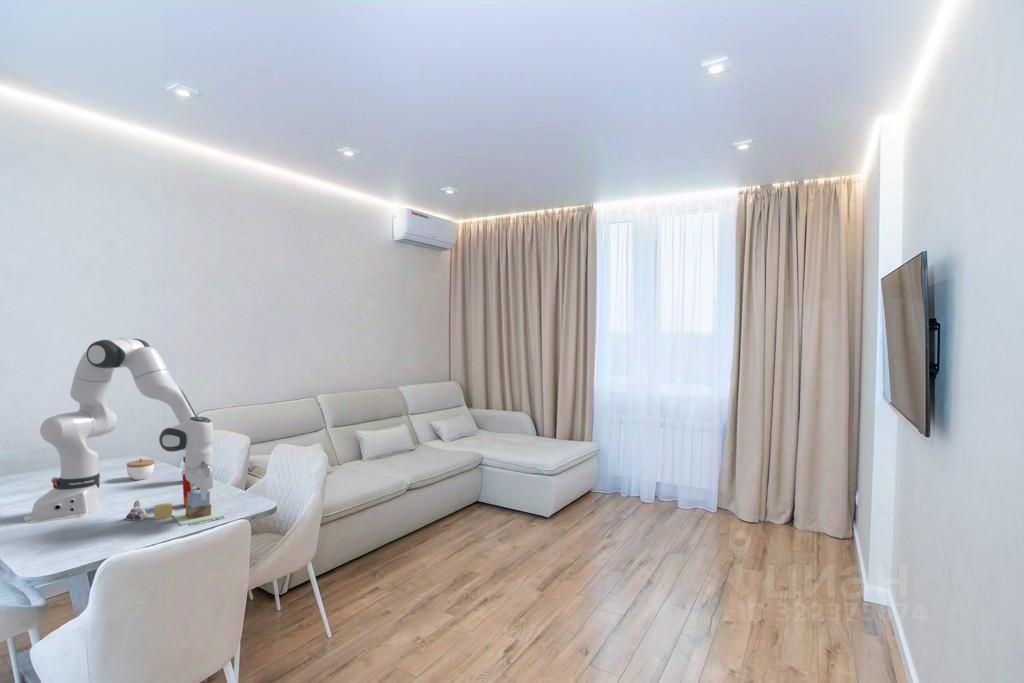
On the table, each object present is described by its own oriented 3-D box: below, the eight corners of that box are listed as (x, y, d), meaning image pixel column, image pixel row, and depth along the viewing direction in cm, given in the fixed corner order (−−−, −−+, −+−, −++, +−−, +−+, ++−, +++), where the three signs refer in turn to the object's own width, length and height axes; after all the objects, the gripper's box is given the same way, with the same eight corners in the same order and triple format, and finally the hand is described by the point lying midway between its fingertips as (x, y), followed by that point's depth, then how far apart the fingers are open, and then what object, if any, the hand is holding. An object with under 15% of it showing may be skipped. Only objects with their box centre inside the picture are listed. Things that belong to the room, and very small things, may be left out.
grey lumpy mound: (164, 516, 193) (164, 496, 193) (143, 524, 184) (143, 503, 184) (144, 514, 194) (144, 494, 194) (122, 522, 186) (123, 501, 186)
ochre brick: (155, 521, 187) (155, 507, 187) (154, 518, 190) (154, 505, 190) (171, 518, 190) (172, 505, 190) (169, 515, 193) (170, 502, 193)
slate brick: (191, 508, 187) (191, 494, 187) (187, 504, 190) (187, 491, 190) (209, 504, 192) (209, 491, 192) (205, 501, 195) (205, 488, 195)
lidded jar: (122, 478, 239) (123, 459, 239) (148, 474, 248) (149, 455, 248) (131, 482, 233) (131, 462, 233) (158, 477, 242) (158, 458, 242)
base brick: (189, 519, 186) (189, 508, 186) (185, 515, 191) (185, 504, 191) (210, 515, 191) (211, 504, 191) (206, 511, 196) (206, 500, 196)
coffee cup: (201, 500, 211) (202, 464, 211) (206, 505, 205) (207, 468, 205) (178, 504, 205) (178, 467, 205) (182, 509, 199) (183, 471, 199)
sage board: (180, 527, 181) (181, 524, 181) (172, 517, 191) (172, 514, 191) (224, 518, 191) (224, 515, 191) (213, 509, 201) (213, 506, 201)
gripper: (218, 463, 186) (217, 500, 187) (199, 454, 200) (199, 488, 200) (199, 466, 182) (198, 504, 182) (181, 456, 195) (180, 492, 195)
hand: (198, 496), depth 191 cm, fingers open, 8 cm apart
